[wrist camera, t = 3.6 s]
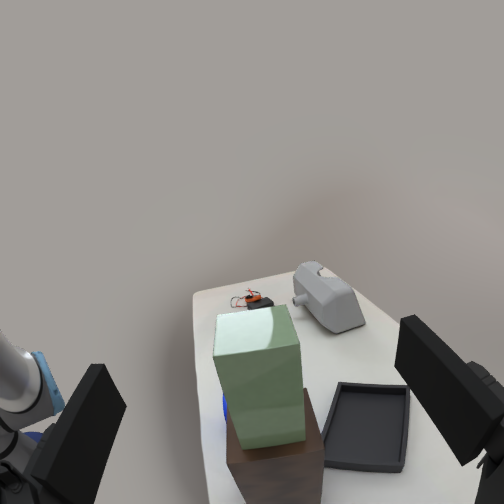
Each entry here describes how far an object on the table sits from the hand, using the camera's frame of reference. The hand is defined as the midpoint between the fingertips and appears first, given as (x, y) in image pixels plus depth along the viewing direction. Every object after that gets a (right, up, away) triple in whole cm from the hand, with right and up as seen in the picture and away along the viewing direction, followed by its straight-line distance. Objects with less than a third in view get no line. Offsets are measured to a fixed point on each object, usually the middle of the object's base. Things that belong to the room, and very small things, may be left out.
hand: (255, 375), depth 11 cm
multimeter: (-1, -12, +86) cm, 87 cm away
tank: (+20, -13, +71) cm, 75 cm away
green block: (+2, -12, +14) cm, 18 cm away
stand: (+5, -31, +20) cm, 37 cm away
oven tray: (+20, -26, +29) cm, 44 cm away
